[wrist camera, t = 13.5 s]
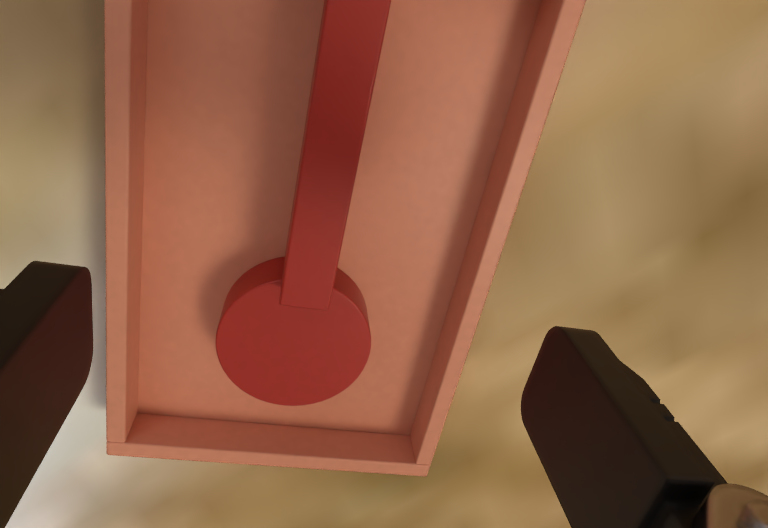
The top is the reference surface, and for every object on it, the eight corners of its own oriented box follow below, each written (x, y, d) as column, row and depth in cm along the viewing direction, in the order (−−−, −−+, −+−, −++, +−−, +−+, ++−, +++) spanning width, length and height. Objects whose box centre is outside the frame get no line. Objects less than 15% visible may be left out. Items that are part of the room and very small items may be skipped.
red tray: (131, -149, 13) (102, -170, 11) (566, -34, 15) (599, -36, 13) (124, 414, 20) (105, 455, 19) (418, 438, 22) (427, 477, 21)
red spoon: (352, 382, 20) (357, 434, 18) (216, 368, 19) (203, 421, 17) (449, -24, 14) (475, -24, 12) (263, -71, 14) (252, -81, 11)
